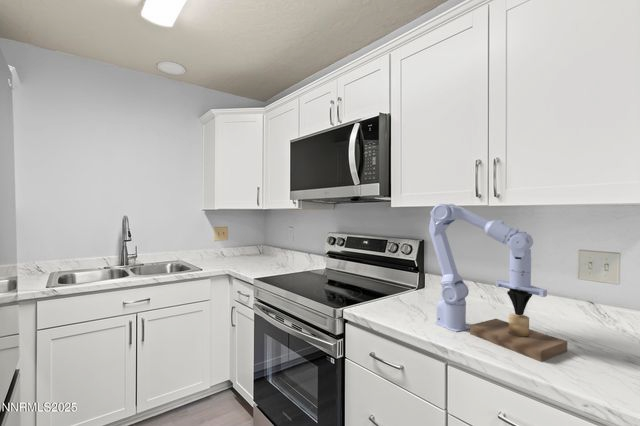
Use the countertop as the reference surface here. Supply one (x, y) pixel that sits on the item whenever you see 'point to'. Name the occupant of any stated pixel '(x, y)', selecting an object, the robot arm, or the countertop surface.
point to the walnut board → (519, 340)
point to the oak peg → (519, 325)
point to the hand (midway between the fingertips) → (519, 314)
